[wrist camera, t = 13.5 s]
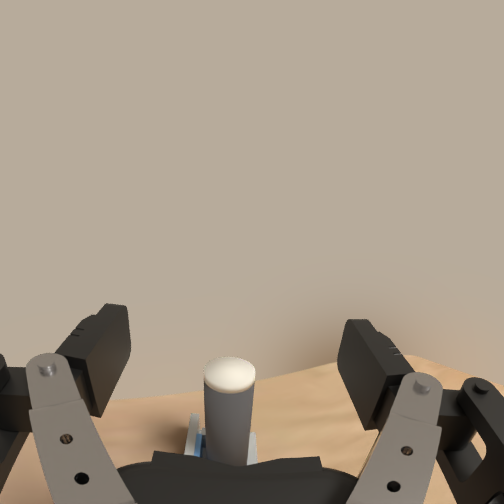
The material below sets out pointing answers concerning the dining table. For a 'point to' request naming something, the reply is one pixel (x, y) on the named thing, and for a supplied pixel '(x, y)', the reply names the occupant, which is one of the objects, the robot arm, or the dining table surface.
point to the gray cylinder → (228, 409)
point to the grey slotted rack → (198, 441)
